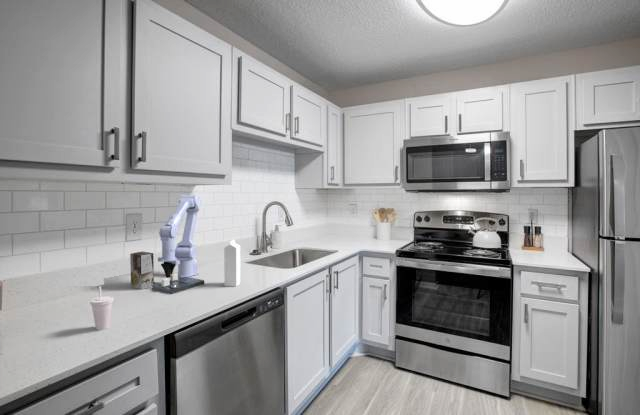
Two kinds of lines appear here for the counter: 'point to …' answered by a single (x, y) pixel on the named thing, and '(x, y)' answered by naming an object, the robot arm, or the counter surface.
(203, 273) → the counter surface
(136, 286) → the coffee box
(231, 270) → the milk
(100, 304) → the smoothie
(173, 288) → the console
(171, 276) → the block
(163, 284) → the block
